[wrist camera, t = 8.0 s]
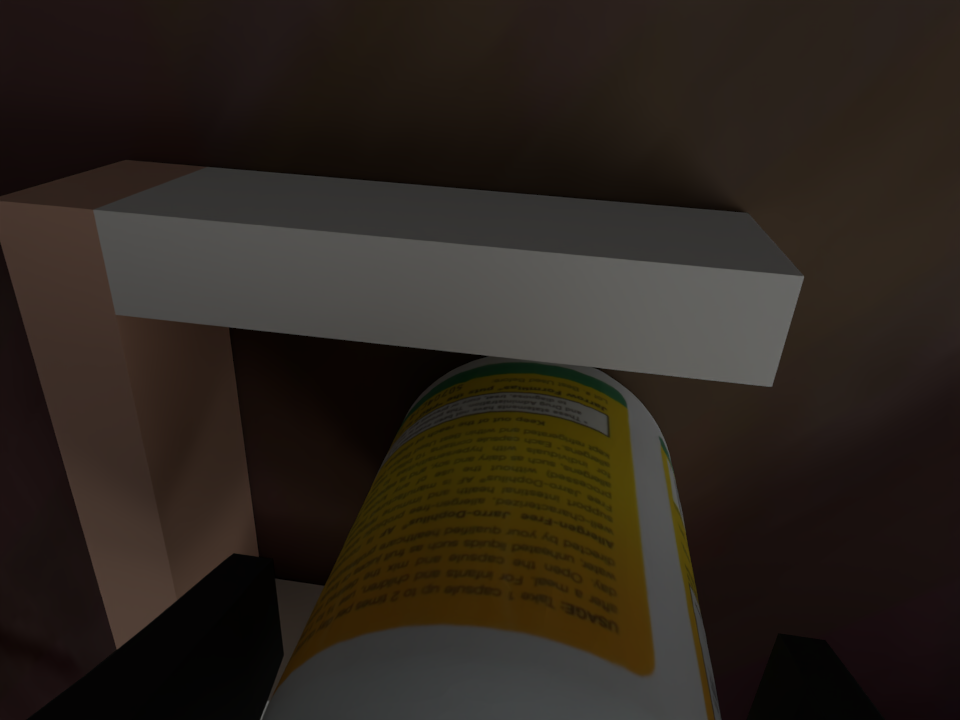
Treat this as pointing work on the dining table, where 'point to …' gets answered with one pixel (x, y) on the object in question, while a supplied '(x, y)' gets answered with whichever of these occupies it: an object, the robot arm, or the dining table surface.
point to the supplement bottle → (511, 565)
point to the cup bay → (332, 325)
